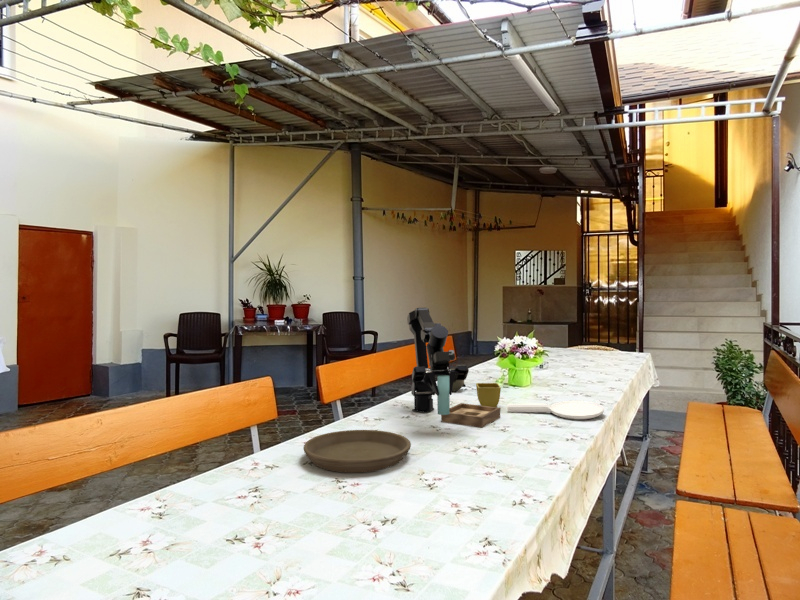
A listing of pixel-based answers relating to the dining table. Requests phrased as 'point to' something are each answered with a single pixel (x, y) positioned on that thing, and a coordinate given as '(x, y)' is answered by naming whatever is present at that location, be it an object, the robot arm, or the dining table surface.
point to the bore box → (471, 415)
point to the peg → (443, 395)
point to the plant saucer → (357, 450)
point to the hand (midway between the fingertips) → (444, 394)
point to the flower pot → (488, 394)
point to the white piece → (562, 409)
